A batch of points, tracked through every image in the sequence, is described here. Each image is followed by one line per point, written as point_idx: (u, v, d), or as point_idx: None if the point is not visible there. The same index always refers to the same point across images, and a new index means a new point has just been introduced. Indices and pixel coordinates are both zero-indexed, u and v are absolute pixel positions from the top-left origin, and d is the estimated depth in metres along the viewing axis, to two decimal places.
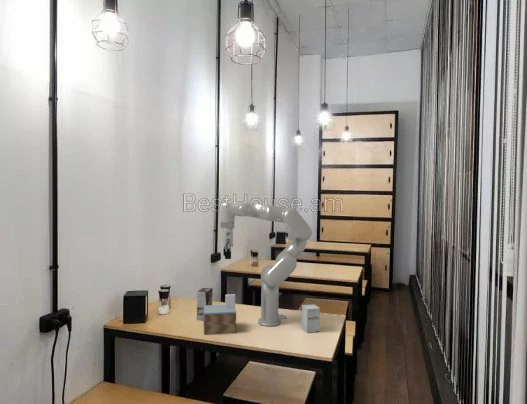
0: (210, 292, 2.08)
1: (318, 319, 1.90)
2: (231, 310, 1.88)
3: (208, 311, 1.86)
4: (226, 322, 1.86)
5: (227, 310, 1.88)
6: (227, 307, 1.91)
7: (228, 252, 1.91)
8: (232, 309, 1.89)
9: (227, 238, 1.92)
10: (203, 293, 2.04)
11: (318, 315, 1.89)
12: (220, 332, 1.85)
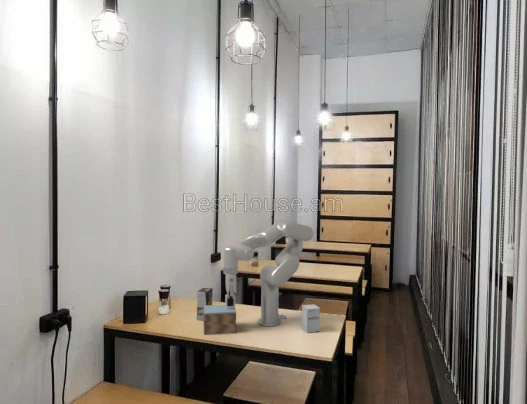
0: (210, 292, 2.08)
1: (318, 319, 1.90)
2: (231, 310, 1.88)
3: (208, 311, 1.86)
4: (226, 322, 1.86)
5: (227, 310, 1.88)
6: (227, 307, 1.91)
7: (231, 299, 1.90)
8: (232, 309, 1.89)
9: (230, 284, 1.87)
10: (203, 293, 2.04)
11: (318, 315, 1.89)
12: (220, 332, 1.85)
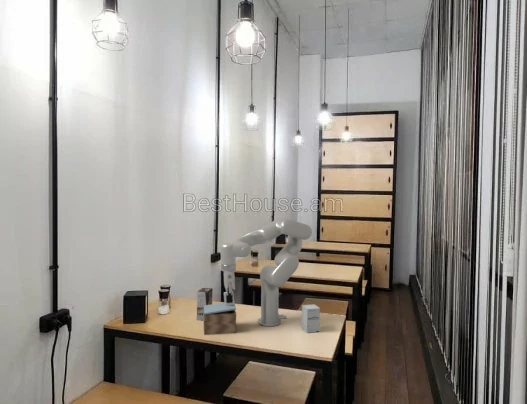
0: (210, 292, 2.08)
1: (318, 319, 1.90)
2: (231, 307, 1.88)
3: (208, 311, 1.86)
4: (226, 322, 1.86)
5: (227, 307, 1.88)
6: (227, 304, 1.91)
7: (229, 296, 1.90)
8: (232, 306, 1.89)
9: (229, 281, 1.86)
10: (203, 293, 2.04)
11: (318, 315, 1.89)
12: (220, 332, 1.85)
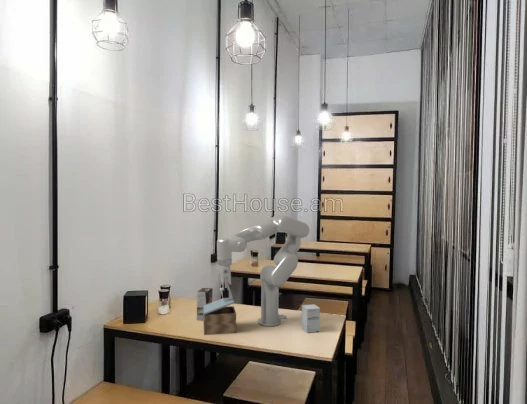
0: (210, 292, 2.08)
1: (318, 319, 1.90)
2: (229, 302, 1.87)
3: (207, 310, 1.86)
4: (226, 322, 1.86)
5: (225, 303, 1.88)
6: (225, 300, 1.91)
7: (226, 291, 1.89)
8: (230, 300, 1.89)
9: (225, 276, 1.86)
10: (203, 293, 2.04)
11: (318, 315, 1.89)
12: (220, 332, 1.85)
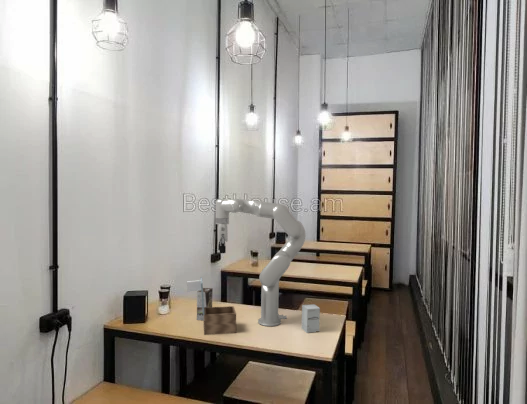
0: (210, 292, 2.08)
1: (318, 319, 1.90)
2: (201, 286, 1.84)
3: (202, 309, 1.85)
4: (226, 322, 1.86)
5: None
6: (199, 288, 1.88)
7: (223, 246, 1.99)
8: None
9: (222, 233, 2.00)
10: (203, 293, 2.04)
11: (318, 315, 1.89)
12: (220, 332, 1.85)
